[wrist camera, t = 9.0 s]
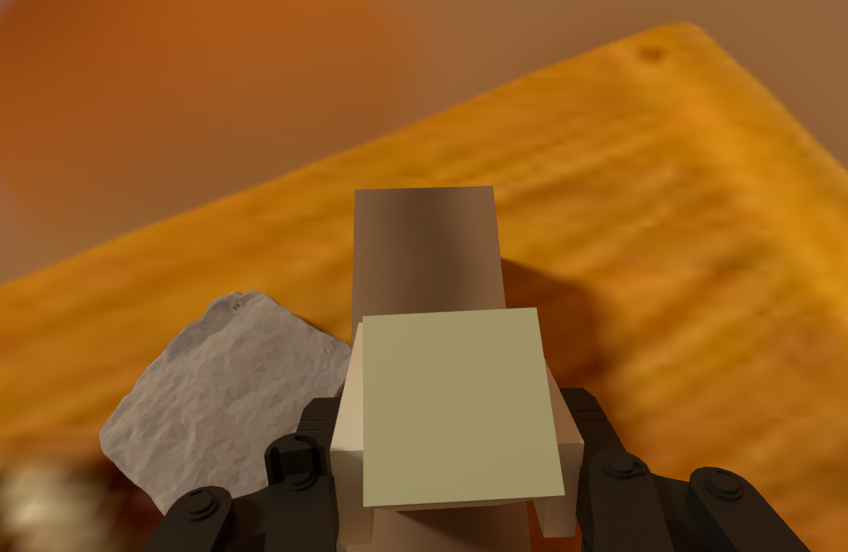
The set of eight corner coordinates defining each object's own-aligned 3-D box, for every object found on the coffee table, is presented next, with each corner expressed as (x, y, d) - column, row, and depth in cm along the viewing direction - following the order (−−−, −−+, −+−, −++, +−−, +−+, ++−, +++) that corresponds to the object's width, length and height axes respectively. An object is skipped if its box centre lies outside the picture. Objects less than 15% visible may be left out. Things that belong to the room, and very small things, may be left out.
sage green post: (394, 511, 20) (363, 506, 10) (391, 407, 22) (362, 316, 12) (496, 505, 20) (565, 495, 10) (486, 401, 22) (536, 307, 12)
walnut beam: (363, 685, 24) (341, 747, 17) (367, 253, 33) (355, 189, 26) (517, 678, 24) (552, 737, 17) (479, 249, 33) (492, 186, 27)
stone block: (122, 463, 29) (245, 574, 26) (61, 439, 25) (194, 566, 22) (262, 302, 34) (384, 375, 30) (229, 261, 30) (365, 338, 26)
